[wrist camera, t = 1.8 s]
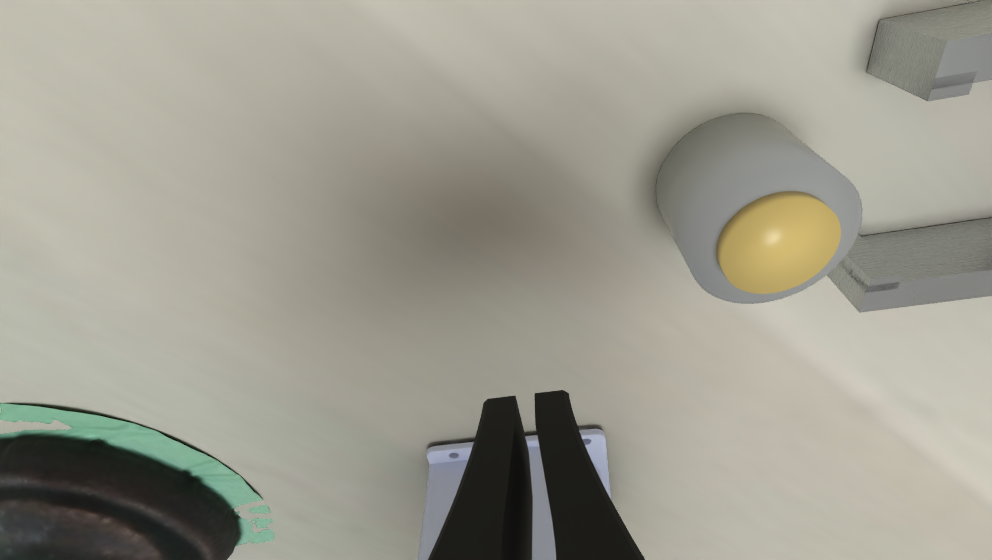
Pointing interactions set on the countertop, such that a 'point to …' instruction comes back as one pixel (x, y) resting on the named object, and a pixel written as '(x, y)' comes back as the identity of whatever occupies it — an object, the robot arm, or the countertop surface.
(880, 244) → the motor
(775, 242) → the grey round piece
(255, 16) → the countertop surface
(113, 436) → the dark brimmed hat
